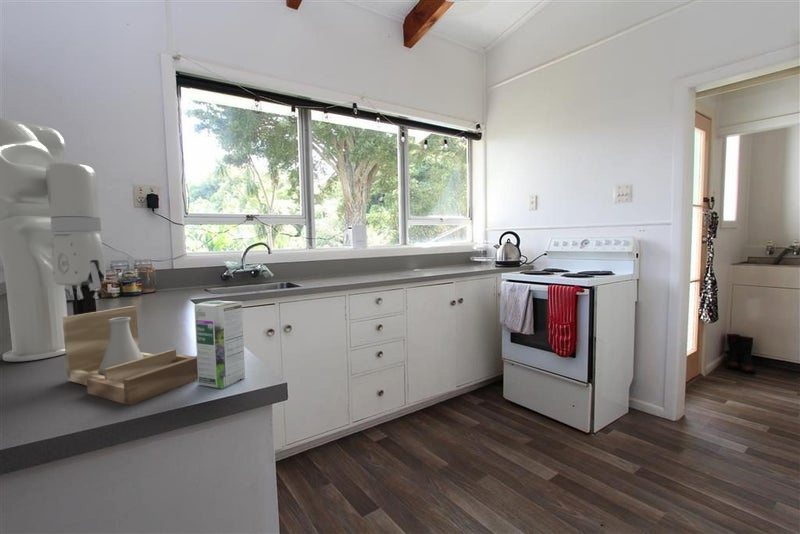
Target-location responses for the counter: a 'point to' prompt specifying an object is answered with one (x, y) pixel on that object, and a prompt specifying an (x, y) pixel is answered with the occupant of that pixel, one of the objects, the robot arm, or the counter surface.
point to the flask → (120, 345)
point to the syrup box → (219, 343)
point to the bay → (146, 382)
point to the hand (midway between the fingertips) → (85, 318)
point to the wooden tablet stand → (104, 347)
